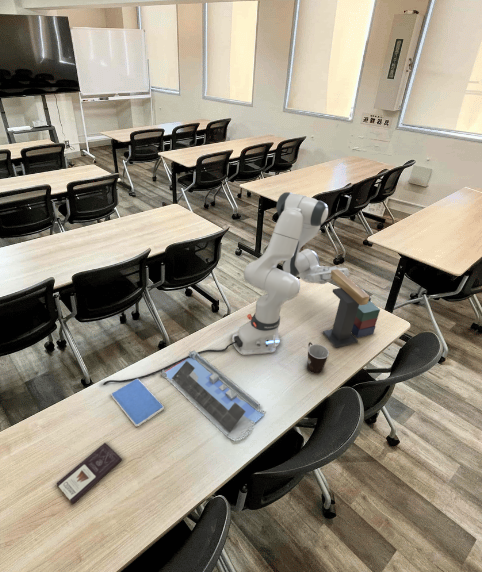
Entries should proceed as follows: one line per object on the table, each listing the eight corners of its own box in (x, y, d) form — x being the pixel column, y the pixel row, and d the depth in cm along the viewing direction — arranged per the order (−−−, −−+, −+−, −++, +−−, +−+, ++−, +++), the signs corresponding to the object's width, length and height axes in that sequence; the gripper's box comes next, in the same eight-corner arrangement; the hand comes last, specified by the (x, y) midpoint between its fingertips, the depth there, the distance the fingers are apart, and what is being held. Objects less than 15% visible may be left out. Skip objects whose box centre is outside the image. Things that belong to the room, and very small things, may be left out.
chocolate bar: (121, 458, 119) (72, 502, 107) (121, 460, 119) (73, 504, 107) (105, 442, 123) (56, 483, 112) (105, 444, 124) (57, 484, 112)
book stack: (356, 338, 172) (364, 313, 164) (338, 319, 184) (344, 295, 175) (373, 334, 175) (381, 309, 166) (354, 315, 186) (361, 292, 178)
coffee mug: (325, 377, 151) (329, 360, 146) (304, 373, 153) (307, 356, 147) (324, 357, 161) (328, 341, 155) (304, 354, 162) (308, 338, 156)
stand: (335, 348, 166) (347, 303, 151) (322, 333, 174) (332, 289, 160) (357, 343, 169) (371, 298, 155) (343, 328, 178) (355, 284, 163)
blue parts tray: (194, 354, 161) (193, 344, 158) (270, 416, 134) (272, 407, 131) (161, 374, 151) (159, 365, 147) (236, 447, 124) (237, 437, 121)
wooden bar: (360, 305, 150) (362, 297, 148) (329, 277, 168) (331, 270, 166) (367, 304, 151) (369, 296, 149) (336, 276, 169) (338, 268, 167)
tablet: (165, 408, 136) (165, 406, 136) (136, 428, 129) (136, 426, 129) (138, 379, 148) (137, 377, 147) (110, 396, 141) (109, 393, 140)
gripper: (301, 271, 175) (316, 272, 162) (337, 265, 181) (355, 265, 168) (303, 284, 176) (318, 285, 163) (339, 278, 182) (356, 278, 168)
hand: (337, 275), depth 165 cm, fingers open, 6 cm apart
